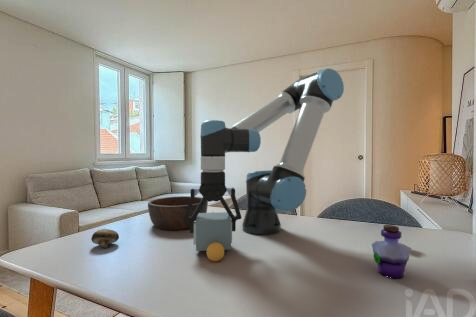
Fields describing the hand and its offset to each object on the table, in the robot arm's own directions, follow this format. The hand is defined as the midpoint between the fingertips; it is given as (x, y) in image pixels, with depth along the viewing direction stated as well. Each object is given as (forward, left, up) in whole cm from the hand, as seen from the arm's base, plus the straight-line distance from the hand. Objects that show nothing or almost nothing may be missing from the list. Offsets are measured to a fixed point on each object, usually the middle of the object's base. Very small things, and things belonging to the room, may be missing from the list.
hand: (212, 242), depth 83 cm
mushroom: (+35, -10, -3) cm, 36 cm away
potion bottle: (-42, +24, -3) cm, 49 cm away
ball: (0, +8, 0) cm, 8 cm away
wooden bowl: (+13, -34, -3) cm, 37 cm away
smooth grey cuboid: (0, 0, -1) cm, 1 cm away
